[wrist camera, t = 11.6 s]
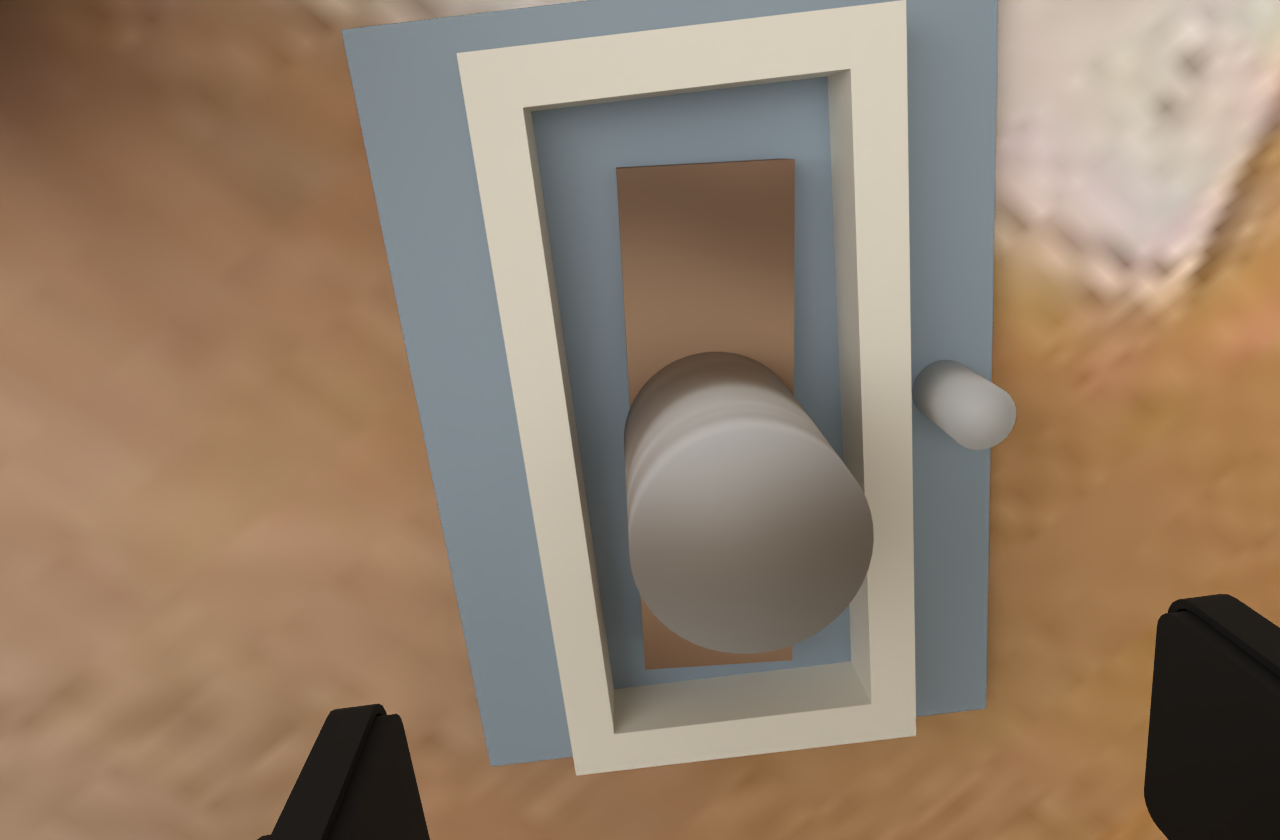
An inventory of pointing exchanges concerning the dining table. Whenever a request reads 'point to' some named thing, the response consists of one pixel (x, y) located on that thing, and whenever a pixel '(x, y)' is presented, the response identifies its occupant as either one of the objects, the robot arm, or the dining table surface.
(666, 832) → the dining table surface
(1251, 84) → the dining table surface
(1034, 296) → the dining table surface
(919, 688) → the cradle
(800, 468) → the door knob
